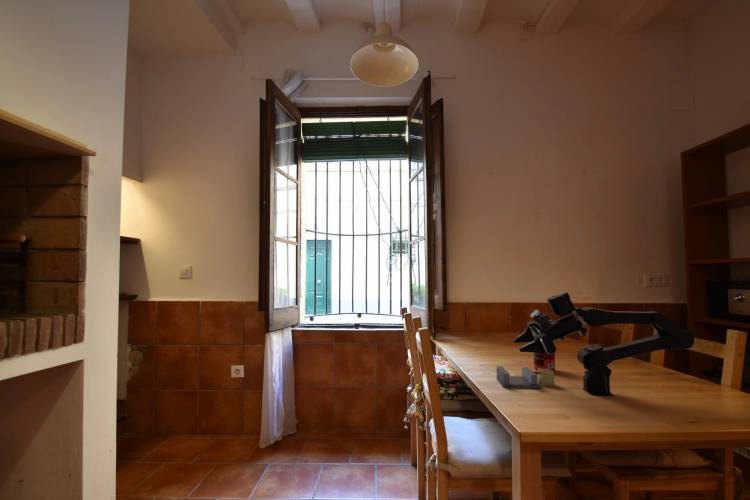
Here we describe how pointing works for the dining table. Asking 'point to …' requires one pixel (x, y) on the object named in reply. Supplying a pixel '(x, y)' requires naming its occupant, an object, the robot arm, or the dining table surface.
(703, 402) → the dining table surface
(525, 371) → the jaw
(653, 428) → the dining table surface
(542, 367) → the canned food
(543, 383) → the block
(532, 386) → the vise base
